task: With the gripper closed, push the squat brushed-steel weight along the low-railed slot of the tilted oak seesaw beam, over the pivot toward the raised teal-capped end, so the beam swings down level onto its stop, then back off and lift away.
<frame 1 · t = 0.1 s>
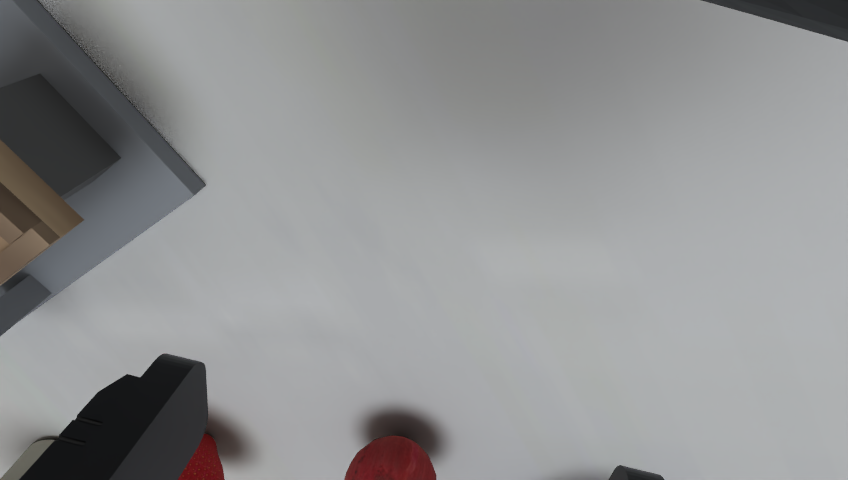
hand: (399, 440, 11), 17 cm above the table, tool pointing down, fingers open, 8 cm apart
pomegranate: (402, 435, 38), on the table
strawberry: (209, 432, 41), on the table
travel mug: (78, 465, 46), on the table
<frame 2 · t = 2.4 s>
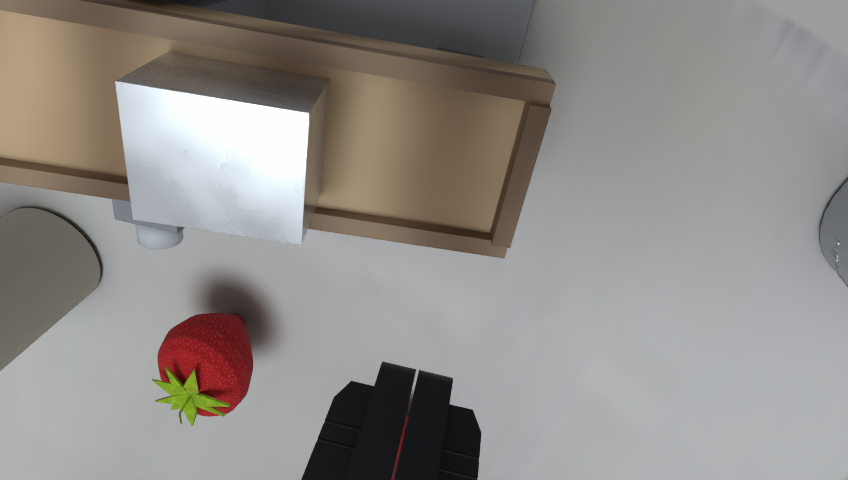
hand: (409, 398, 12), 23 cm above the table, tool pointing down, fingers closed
pivot stand: (249, 48, 31), on the table
strawberry: (241, 317, 42), on the table
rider: (250, 127, 22), point 11 cm above the table, tilted 8°, touching beam
beam: (129, 108, 22), point 11 cm above the table, hinge at -8.2°, touching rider
travel mug: (55, 251, 42), on the table
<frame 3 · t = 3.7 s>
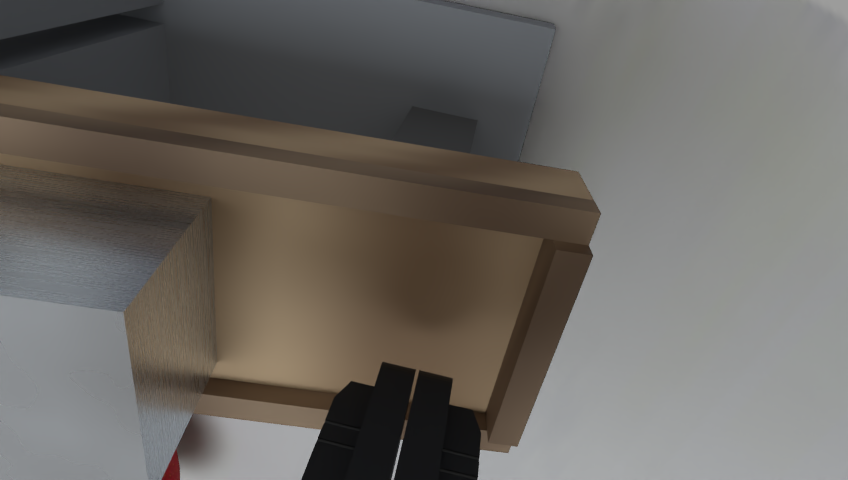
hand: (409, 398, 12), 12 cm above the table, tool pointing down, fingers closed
pivot stand: (152, 100, 23), on the table
strawberry: (172, 424, 33), on the table
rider: (87, 269, 13), point 11 cm above the table, tilted 8°, touching beam
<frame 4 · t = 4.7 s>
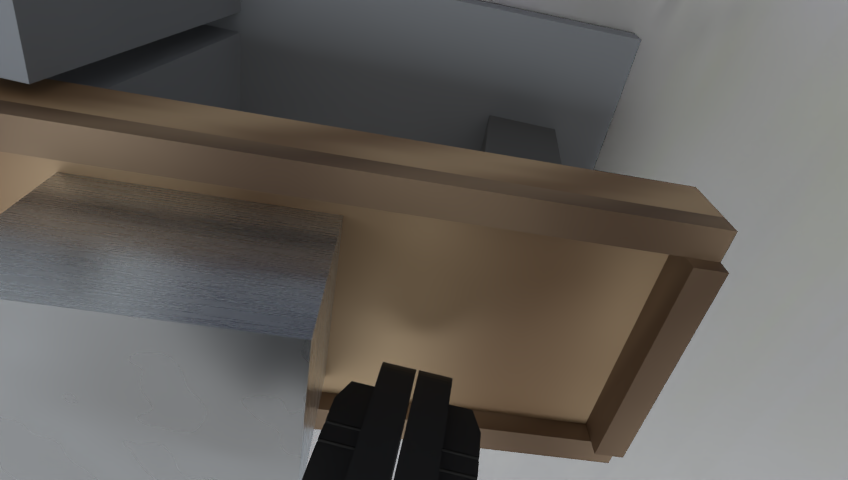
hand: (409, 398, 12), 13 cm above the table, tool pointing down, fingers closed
pivot stand: (217, 107, 22), on the table
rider: (207, 286, 13), point 11 cm above the table, tilted 8°, touching beam, gripper
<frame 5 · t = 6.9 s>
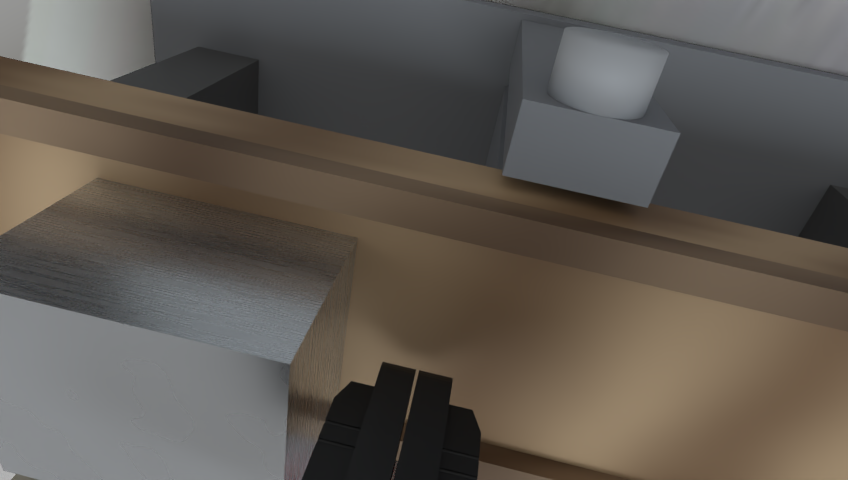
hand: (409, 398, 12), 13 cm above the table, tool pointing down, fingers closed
pivot stand: (520, 169, 23), on the table
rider: (228, 296, 13), point 11 cm above the table, touching beam
beam: (519, 358, 13), point 11 cm above the table, hinge at 0.5°, touching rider
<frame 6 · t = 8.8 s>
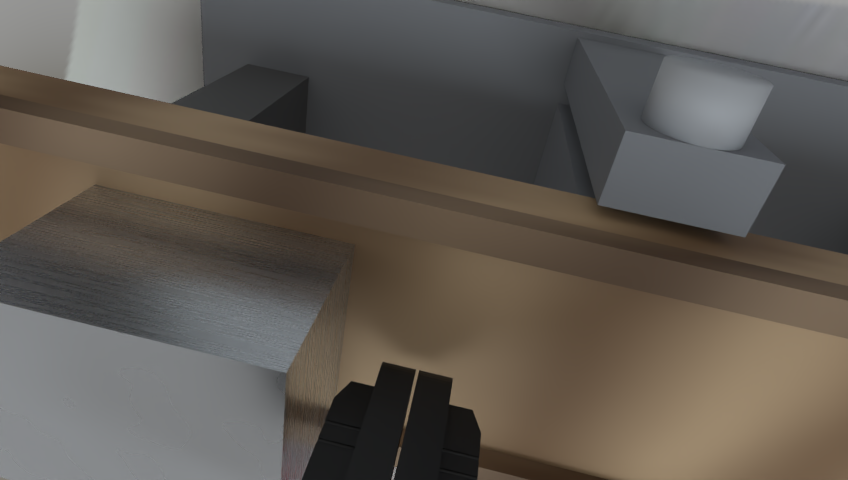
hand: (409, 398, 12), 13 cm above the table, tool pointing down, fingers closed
pivot stand: (567, 184, 23), on the table
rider: (225, 302, 13), point 11 cm above the table, touching beam, gripper
beam: (603, 385, 13), point 11 cm above the table, hinge at 0.5°, touching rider
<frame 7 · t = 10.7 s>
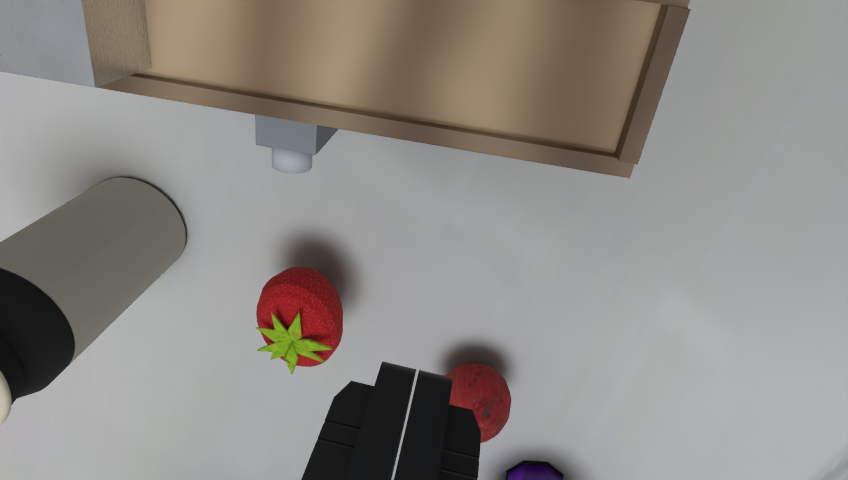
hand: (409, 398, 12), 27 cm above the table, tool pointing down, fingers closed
potion bottle: (534, 478, 52), on the table
pivot stand: (347, 2, 34), on the table
pomegranate: (475, 367, 46), on the table
strawberry: (322, 277, 44), on the table
beam: (282, 26, 24), point 11 cm above the table, hinge at 0.5°, touching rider
travel mug: (140, 221, 43), on the table
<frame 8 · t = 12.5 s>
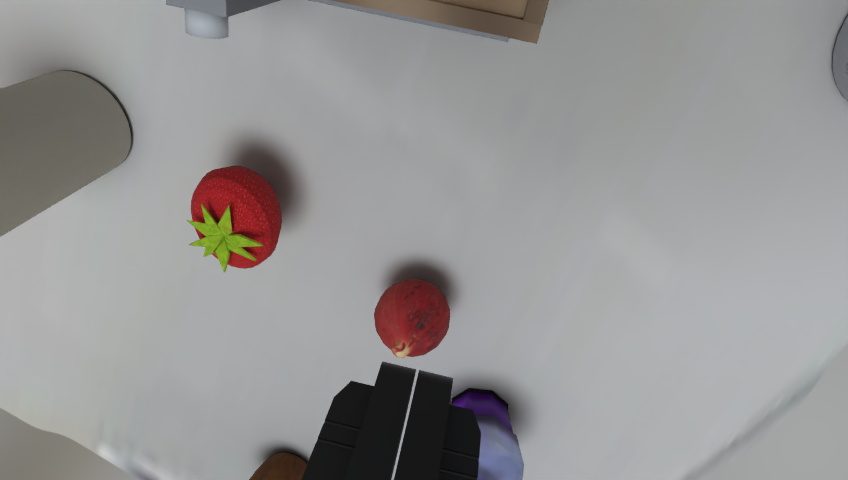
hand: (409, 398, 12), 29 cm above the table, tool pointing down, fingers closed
potion bottle: (479, 408, 52), on the table
pomegranate: (420, 288, 46), on the table
strawberry: (268, 186, 43), on the table
travel mug: (86, 120, 43), on the table
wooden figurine: (292, 462, 60), on the table
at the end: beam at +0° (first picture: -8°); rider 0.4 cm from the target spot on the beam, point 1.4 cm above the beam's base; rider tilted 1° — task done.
